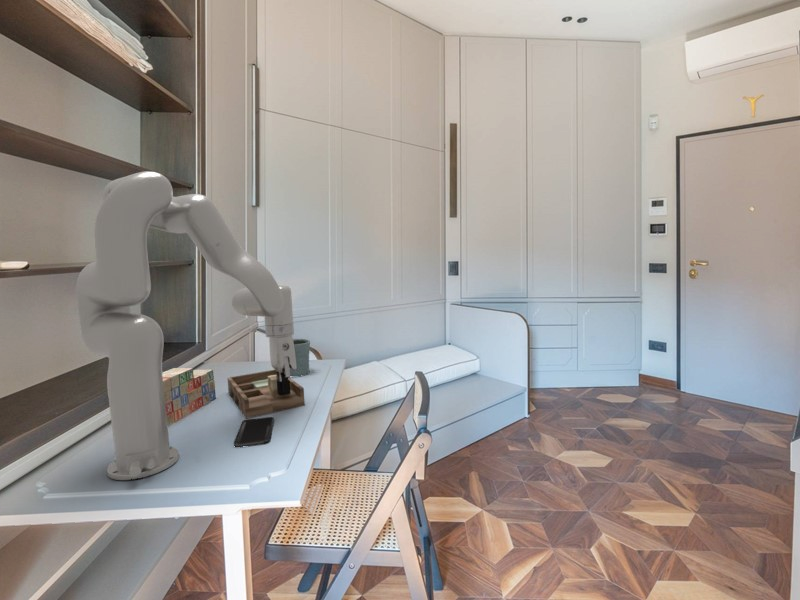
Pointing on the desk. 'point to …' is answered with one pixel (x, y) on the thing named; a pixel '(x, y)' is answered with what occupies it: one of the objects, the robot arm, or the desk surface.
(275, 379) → the maple block
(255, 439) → the phone
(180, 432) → the desk surface
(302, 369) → the grey green pot
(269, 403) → the wooden shelf
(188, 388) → the stack of blocks
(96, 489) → the desk surface
